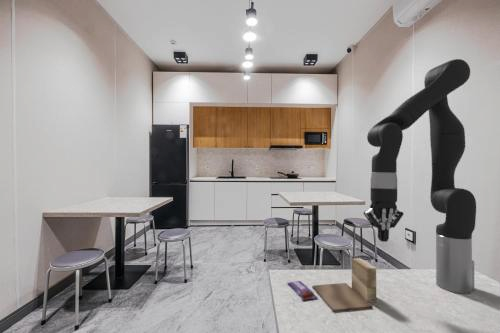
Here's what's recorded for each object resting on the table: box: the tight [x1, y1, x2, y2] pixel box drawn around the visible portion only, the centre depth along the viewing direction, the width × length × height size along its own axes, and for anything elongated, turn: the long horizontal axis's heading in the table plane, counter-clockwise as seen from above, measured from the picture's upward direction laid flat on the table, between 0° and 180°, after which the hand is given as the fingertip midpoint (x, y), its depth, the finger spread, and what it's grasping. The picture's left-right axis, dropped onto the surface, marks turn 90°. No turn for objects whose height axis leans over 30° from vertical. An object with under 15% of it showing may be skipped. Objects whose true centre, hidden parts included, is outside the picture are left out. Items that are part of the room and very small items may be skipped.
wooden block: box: [351, 257, 377, 303], centre depth 77 cm, size 3×8×10 cm, turn 9°
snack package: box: [286, 280, 318, 301], centre depth 79 cm, size 12×2×5 cm
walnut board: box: [311, 282, 373, 313], centre depth 75 cm, size 12×14×1 cm
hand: (383, 240), depth 78 cm, fingers closed
